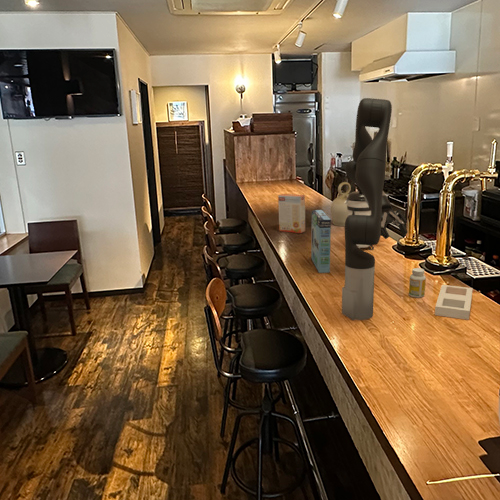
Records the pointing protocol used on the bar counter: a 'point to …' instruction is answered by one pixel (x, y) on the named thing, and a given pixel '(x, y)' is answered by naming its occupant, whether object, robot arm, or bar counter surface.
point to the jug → (340, 206)
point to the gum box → (321, 241)
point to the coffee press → (358, 208)
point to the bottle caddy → (454, 302)
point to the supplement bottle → (417, 283)
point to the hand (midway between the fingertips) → (396, 236)
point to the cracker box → (291, 213)
